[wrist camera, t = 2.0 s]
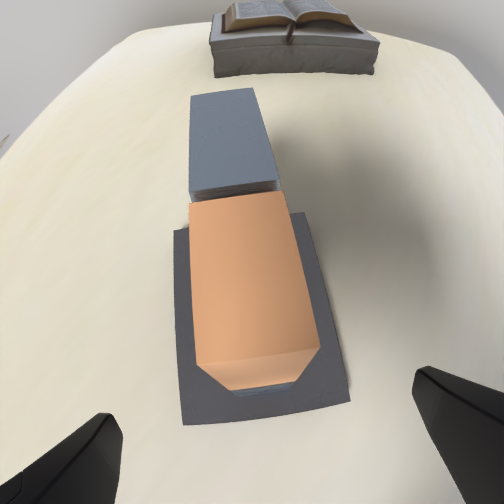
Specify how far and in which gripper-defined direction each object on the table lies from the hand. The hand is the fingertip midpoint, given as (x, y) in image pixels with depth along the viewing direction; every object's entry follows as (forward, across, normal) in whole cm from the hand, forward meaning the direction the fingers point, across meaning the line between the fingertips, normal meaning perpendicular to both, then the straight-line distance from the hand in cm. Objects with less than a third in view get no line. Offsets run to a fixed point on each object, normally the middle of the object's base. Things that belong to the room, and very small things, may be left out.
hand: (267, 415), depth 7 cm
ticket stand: (+13, 0, +3) cm, 13 cm away
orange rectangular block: (+7, 0, +1) cm, 7 cm away
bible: (+44, -12, -26) cm, 52 cm away
